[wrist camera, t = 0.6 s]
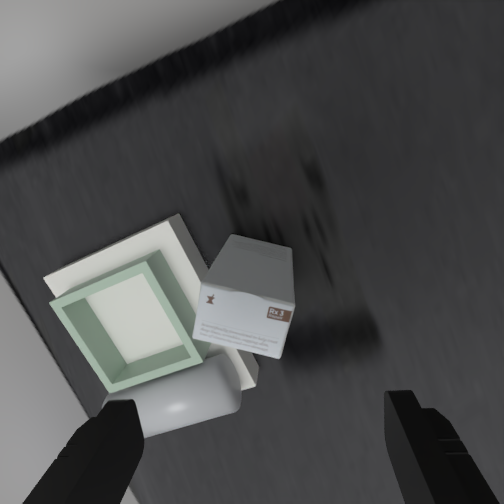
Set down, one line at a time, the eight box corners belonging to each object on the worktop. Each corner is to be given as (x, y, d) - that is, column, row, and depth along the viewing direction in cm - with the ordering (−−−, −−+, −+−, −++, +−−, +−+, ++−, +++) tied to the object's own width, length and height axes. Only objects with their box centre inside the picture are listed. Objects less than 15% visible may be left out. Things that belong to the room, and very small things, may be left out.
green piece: (159, 249, 30) (145, 260, 27) (211, 342, 33) (203, 362, 30) (70, 288, 33) (48, 302, 30) (124, 372, 35) (109, 393, 32)
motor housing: (178, 213, 32) (143, 236, 25) (259, 366, 36) (249, 426, 29) (63, 266, 35) (0, 301, 28) (149, 401, 40) (115, 463, 32)
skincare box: (223, 273, 34) (185, 343, 22) (231, 229, 32) (195, 281, 21) (284, 287, 33) (279, 366, 22) (296, 244, 32) (296, 305, 20)
